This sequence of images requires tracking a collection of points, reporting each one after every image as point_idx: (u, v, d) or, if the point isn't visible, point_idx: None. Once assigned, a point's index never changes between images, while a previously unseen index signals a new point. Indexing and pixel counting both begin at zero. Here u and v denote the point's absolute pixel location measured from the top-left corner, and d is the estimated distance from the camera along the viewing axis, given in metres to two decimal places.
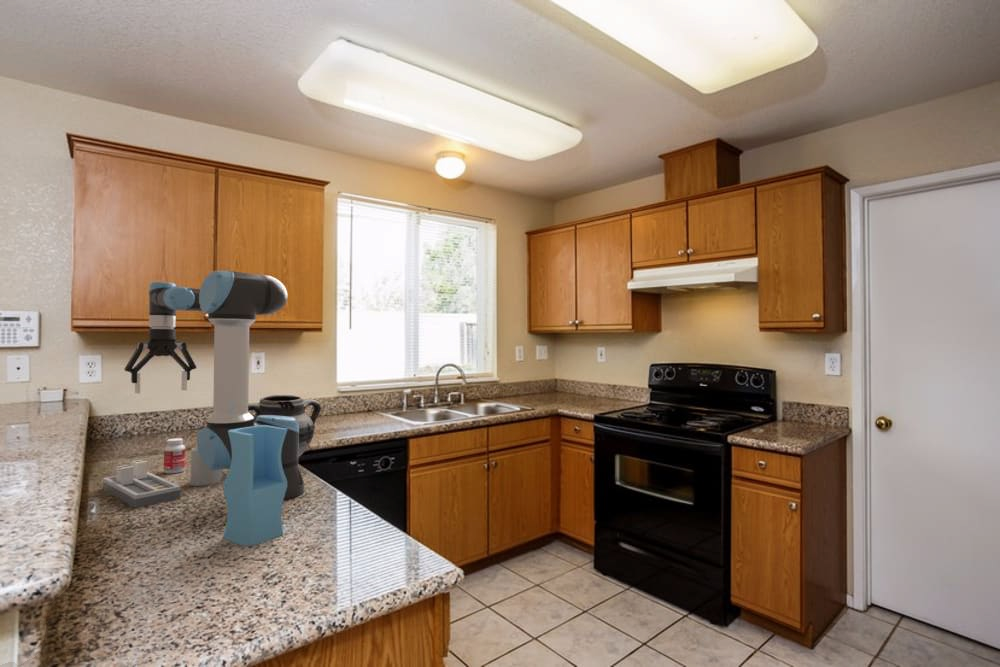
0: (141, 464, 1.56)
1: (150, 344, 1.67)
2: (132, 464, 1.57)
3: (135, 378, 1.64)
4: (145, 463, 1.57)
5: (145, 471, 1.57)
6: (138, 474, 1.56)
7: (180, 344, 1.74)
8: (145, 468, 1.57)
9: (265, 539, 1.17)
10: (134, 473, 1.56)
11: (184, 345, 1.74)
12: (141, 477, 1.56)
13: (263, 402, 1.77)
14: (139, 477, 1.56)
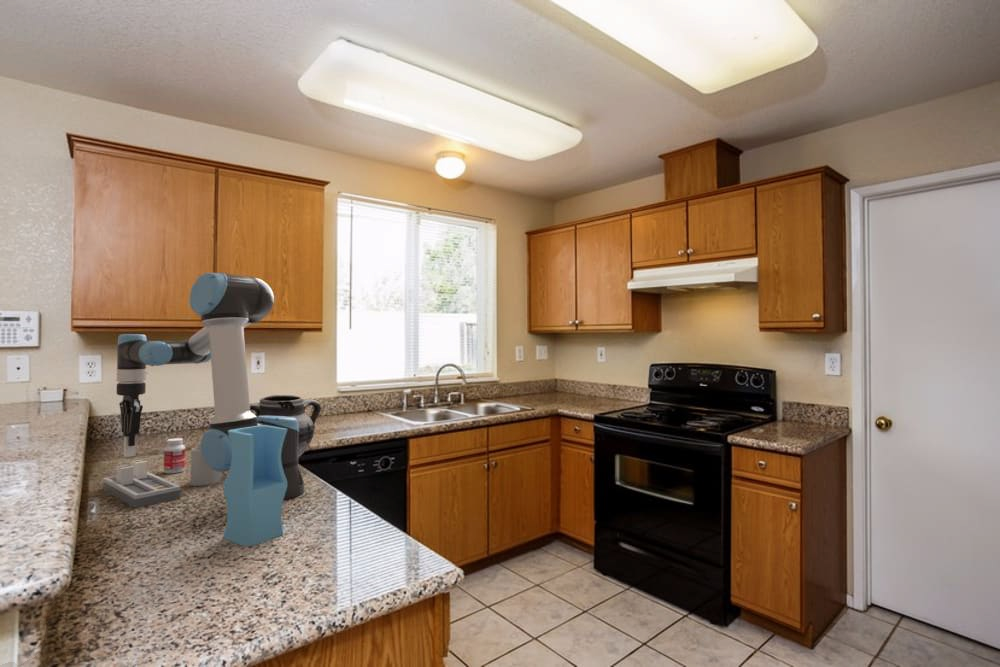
0: (141, 464, 1.56)
1: (123, 399, 1.64)
2: (132, 464, 1.57)
3: None
4: (145, 463, 1.57)
5: (145, 471, 1.57)
6: (138, 474, 1.56)
7: (135, 405, 1.59)
8: (145, 468, 1.57)
9: (265, 539, 1.17)
10: (134, 473, 1.56)
11: (132, 408, 1.58)
12: (141, 477, 1.56)
13: (263, 402, 1.77)
14: (139, 477, 1.56)
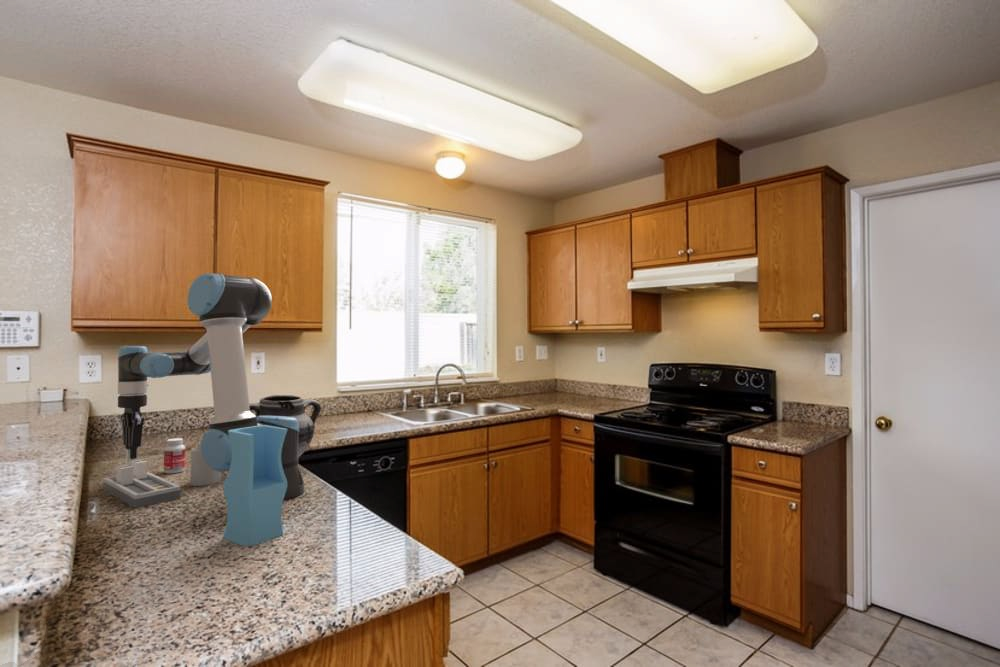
0: (141, 464, 1.56)
1: (124, 412, 1.63)
2: (132, 464, 1.57)
3: None
4: (145, 463, 1.57)
5: (145, 471, 1.57)
6: (138, 474, 1.56)
7: (136, 418, 1.58)
8: (145, 468, 1.57)
9: (265, 539, 1.17)
10: (134, 473, 1.56)
11: (134, 421, 1.57)
12: (141, 477, 1.56)
13: (263, 402, 1.77)
14: (139, 477, 1.56)
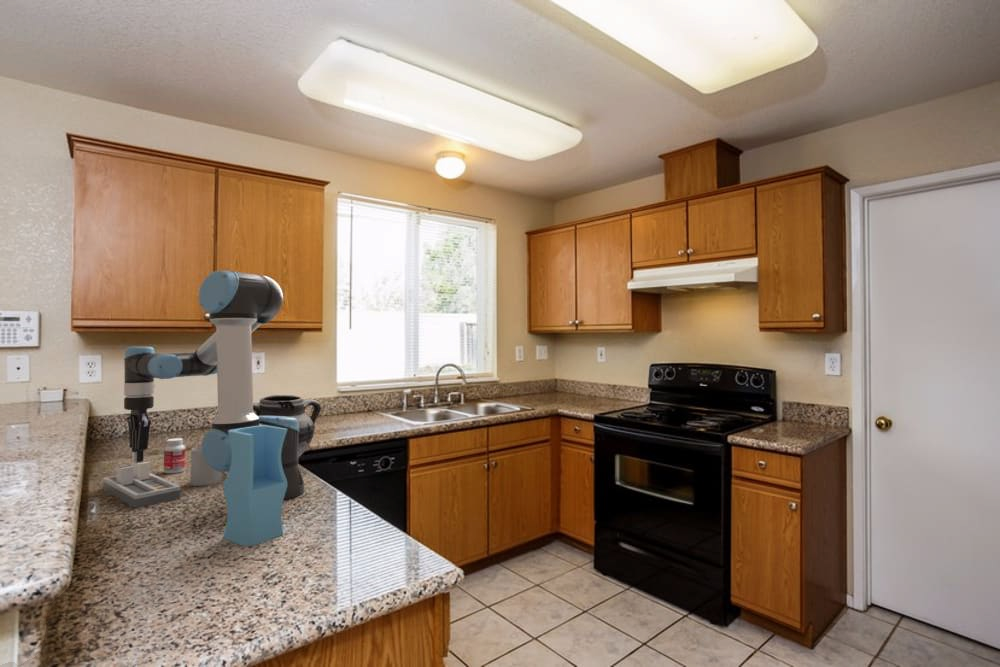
0: (143, 465, 1.55)
1: None
2: (134, 465, 1.56)
3: None
4: (147, 464, 1.56)
5: (147, 472, 1.56)
6: (140, 475, 1.54)
7: (143, 420, 1.55)
8: (147, 469, 1.56)
9: (265, 539, 1.17)
10: (136, 474, 1.55)
11: (140, 423, 1.54)
12: (143, 478, 1.55)
13: (263, 402, 1.77)
14: (141, 478, 1.55)
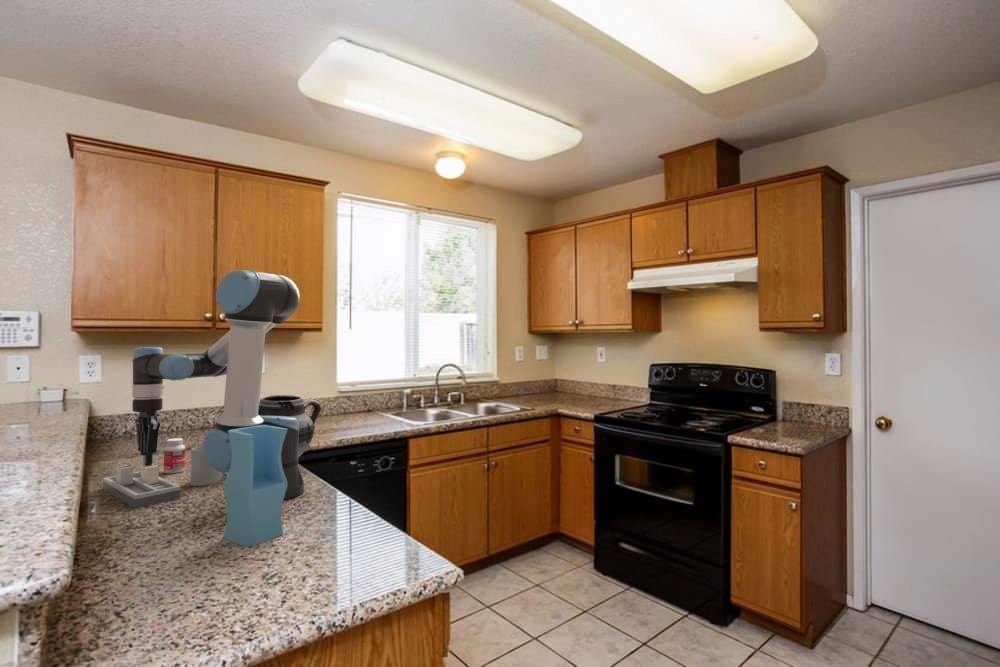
0: (152, 469, 1.51)
1: (139, 416, 1.56)
2: (142, 469, 1.52)
3: None
4: (156, 468, 1.52)
5: (156, 476, 1.52)
6: (149, 479, 1.50)
7: (152, 422, 1.51)
8: (156, 473, 1.52)
9: (265, 539, 1.17)
10: (145, 478, 1.51)
11: (149, 426, 1.50)
12: (152, 482, 1.51)
13: (263, 402, 1.77)
14: (150, 482, 1.51)
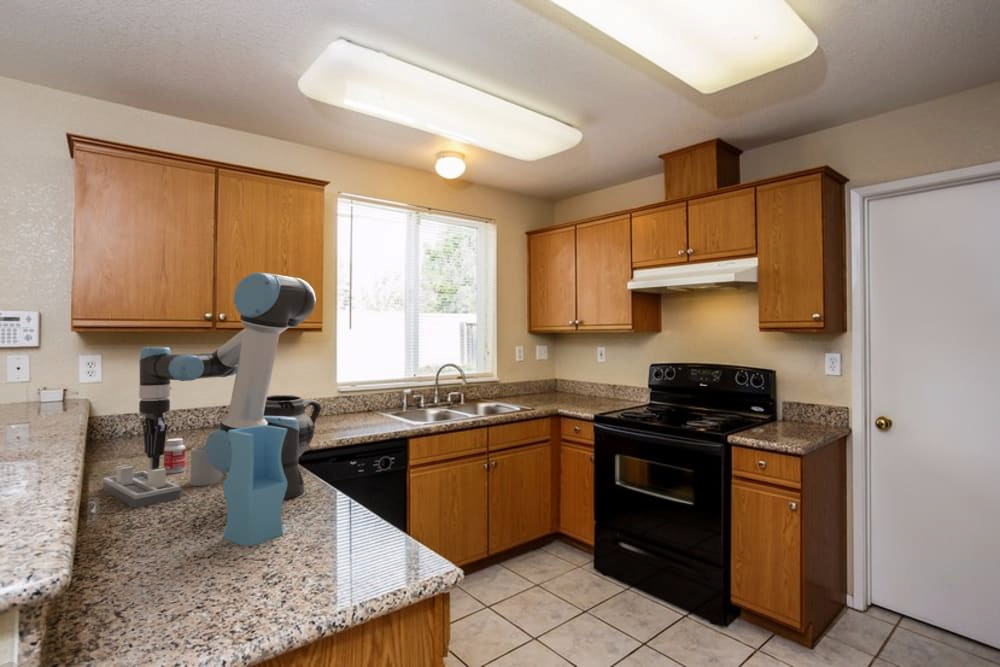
0: (159, 472, 1.48)
1: None
2: (150, 472, 1.48)
3: None
4: (163, 471, 1.48)
5: (163, 479, 1.48)
6: (156, 482, 1.47)
7: (159, 424, 1.47)
8: (163, 476, 1.48)
9: (265, 539, 1.17)
10: (152, 481, 1.47)
11: (157, 428, 1.46)
12: (159, 486, 1.48)
13: None
14: (157, 486, 1.47)
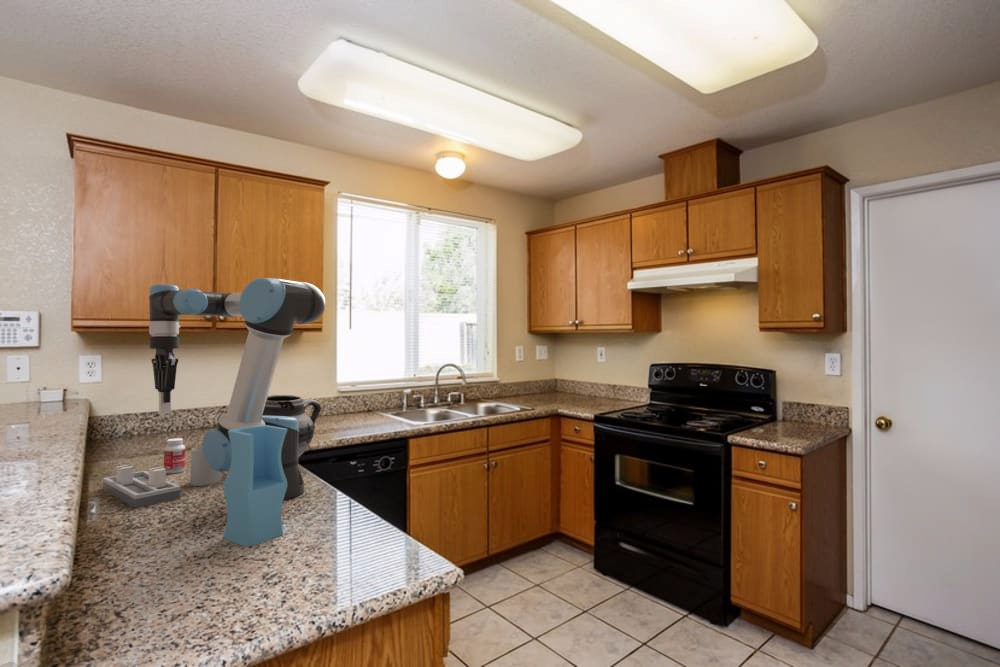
0: (159, 472, 1.48)
1: (155, 355, 1.56)
2: (150, 472, 1.48)
3: None
4: (163, 471, 1.48)
5: (163, 479, 1.48)
6: (156, 482, 1.47)
7: (170, 358, 1.51)
8: (163, 476, 1.48)
9: (265, 539, 1.17)
10: (152, 481, 1.47)
11: (168, 361, 1.50)
12: (159, 486, 1.48)
13: None
14: (157, 486, 1.47)
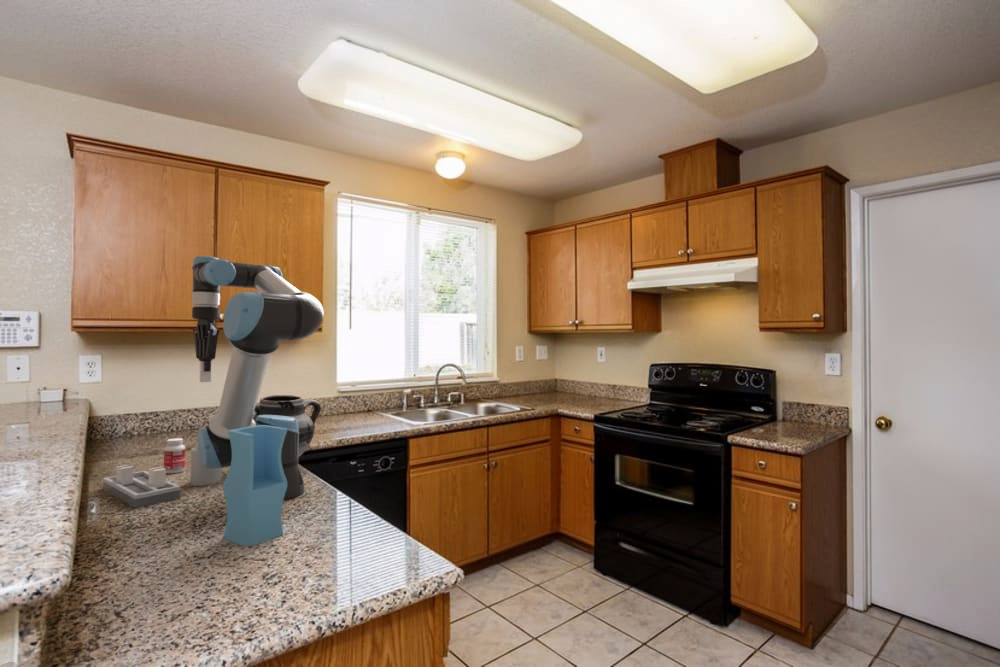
0: (159, 472, 1.48)
1: (197, 325, 1.60)
2: (150, 472, 1.48)
3: None
4: (163, 471, 1.48)
5: (163, 479, 1.48)
6: (156, 482, 1.47)
7: (211, 328, 1.55)
8: (163, 476, 1.48)
9: (265, 539, 1.17)
10: (152, 481, 1.47)
11: (209, 331, 1.54)
12: (159, 486, 1.48)
13: (263, 402, 1.77)
14: (157, 486, 1.47)
